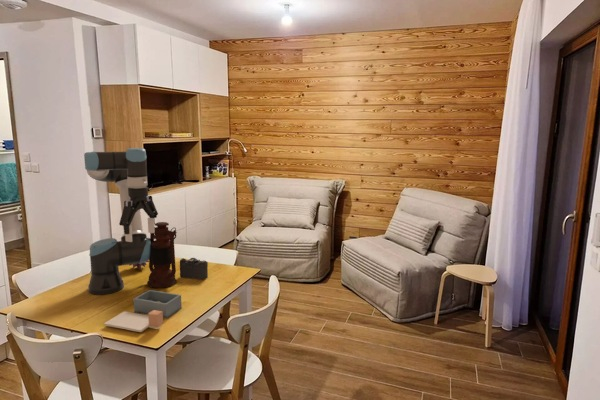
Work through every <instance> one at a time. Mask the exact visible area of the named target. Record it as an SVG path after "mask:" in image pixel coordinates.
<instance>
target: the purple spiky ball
mask: <svg viewBox="0 0 600 400" xmlns="http://www.w3.org/2000/svg"><path fill="white" fill-rule="evenodd" d="M147 263H149V260H148V261H147V262H143V263H140V264H139V263H137V264H130V265H129V266H132V269H135V268H137V270H138V269H139V270H141V268H142V267H144V268H145V267H146V266H147V265H148V264H147Z"/></svg>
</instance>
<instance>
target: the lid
mask: <svg viewBox="0 0 600 400" xmlns="http://www.w3.org/2000/svg"><path fill="white" fill-rule="evenodd" d="M163 324H164V318H163V311H157V310H153V311H151V312H150V313H148V315H145V314H140V313H135V312H130V311H125V310H124V311H122V312H120V313H119V314H117V315H116V316H114V317H112V318H111V319H109V320H107V321H105V322H104V323H103V326H106V327H111V328H117V329H123V330H128V331H133V332H136V333H137V332H139V333H143V332H144V331H145V330H146V329H148V328H151V329H160V327H162V325H163Z"/></svg>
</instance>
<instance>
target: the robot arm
mask: <svg viewBox="0 0 600 400" xmlns="http://www.w3.org/2000/svg"><path fill="white" fill-rule="evenodd" d="M83 155H84V156H83V157H84V168H85V170H86V172H87V175H88V176H89V177H90V178H91V179H93V180H95V181H99V182H104V183H105V182H106V183H110V182H111V183H114V184H115V186H116V187H117V188H118V190H119V191H118V192H119V200H120V209H121V216H120V220H119V224H118V225H119V226H122V229H123V234H122V235H121V237H120V241H119V240H117V239H116V238H114V237H112V238H111V237H110V238H103V239H100V240H97V241H95V242H92V243H91V244H90V246H89V257H90V258H89V259H90V273H91V275H90V279H89V284H88V286H87V287H88V289H87V290H88V293H89V294H92V295H110V294H114V293H116V292H119V291H121V290H122V289H123V288H124V287H125V286H124V285H125V284H124V280H123V278H122V275H121V273H120V271H119V267H121V266H127V265H128V266H131V265H130V264H137V263H139V264H140V263H143V262H146V263H148V262H147V261H149V259H150V252H151V241H150V237H147V233H155V229H154V227H155V224H156V222H155V218H156V219H157V217H158V214H159V212H158V210H157V208H156V205H155V203H154V201H153V196H152V195H149V187H148V169H147V168H148V167H147V157H148V156H147V152H146V149H145V148H143V147H131V148H126V150H125V151H88V152H87V151H86V152H84V153H83ZM141 209H142V210H143V212H145V214H146V215H147V216H148V217H147V230H148V231H147V233H145V232H144V231H143V230H144V229H143V224H142V215H141Z"/></svg>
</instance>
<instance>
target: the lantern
mask: <svg viewBox="0 0 600 400" xmlns="http://www.w3.org/2000/svg"><path fill="white" fill-rule="evenodd" d="M154 229H155V233H150V237H149V238H150V241H151V252H150V259H149V260H148V261H149V262H148V268H149V271H150V274H149V275H148V281H147V282H146V284H147V286H148V287H150V288H154V289H155V288H156V289H161V288H163V289H164V288H169V287H172V286H175V285H176V284H177V283H178V281H177V279H176V273H177V272H176V271H177V270H176V268H177V267H176V253H175V239H176V238H177V233H178V232H177V228H176V227H172V228H171V229H169V222H166V221H158V222H155V225H154ZM173 229H174V230H173Z"/></svg>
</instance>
